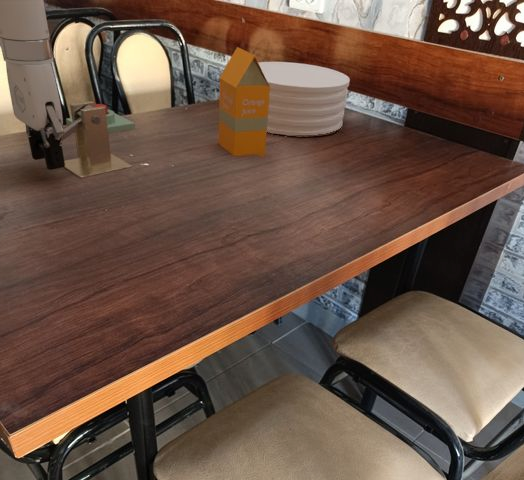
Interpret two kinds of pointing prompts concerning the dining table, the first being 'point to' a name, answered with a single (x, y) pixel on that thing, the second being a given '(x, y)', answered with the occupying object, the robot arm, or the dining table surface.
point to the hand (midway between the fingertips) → (48, 162)
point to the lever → (67, 129)
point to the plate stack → (304, 98)
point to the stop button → (102, 106)
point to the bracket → (92, 143)
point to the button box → (113, 122)
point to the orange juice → (243, 105)
